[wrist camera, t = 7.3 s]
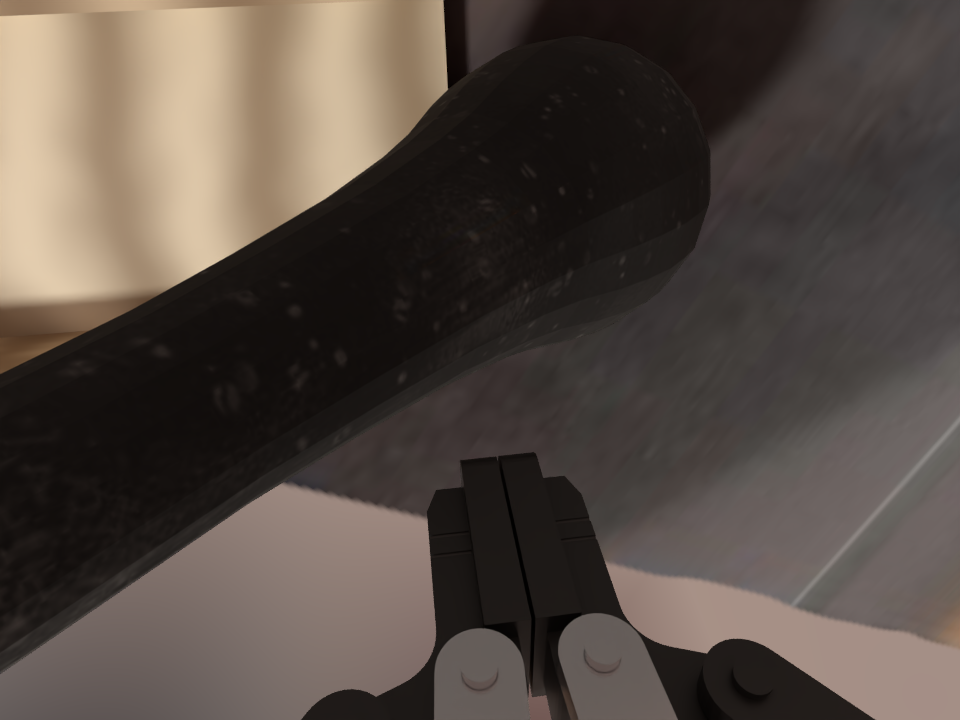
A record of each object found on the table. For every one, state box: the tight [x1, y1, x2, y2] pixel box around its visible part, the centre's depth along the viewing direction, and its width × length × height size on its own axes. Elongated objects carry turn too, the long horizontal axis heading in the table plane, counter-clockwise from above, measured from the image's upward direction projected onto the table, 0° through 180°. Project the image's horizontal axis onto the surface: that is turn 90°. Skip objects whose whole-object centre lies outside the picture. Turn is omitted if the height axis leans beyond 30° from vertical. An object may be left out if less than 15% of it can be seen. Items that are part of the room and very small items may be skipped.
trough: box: [0, 0, 448, 374], centre depth 27 cm, size 28×18×4 cm, turn 91°
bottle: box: [0, 35, 710, 674], centre depth 18 cm, size 11×11×30 cm
